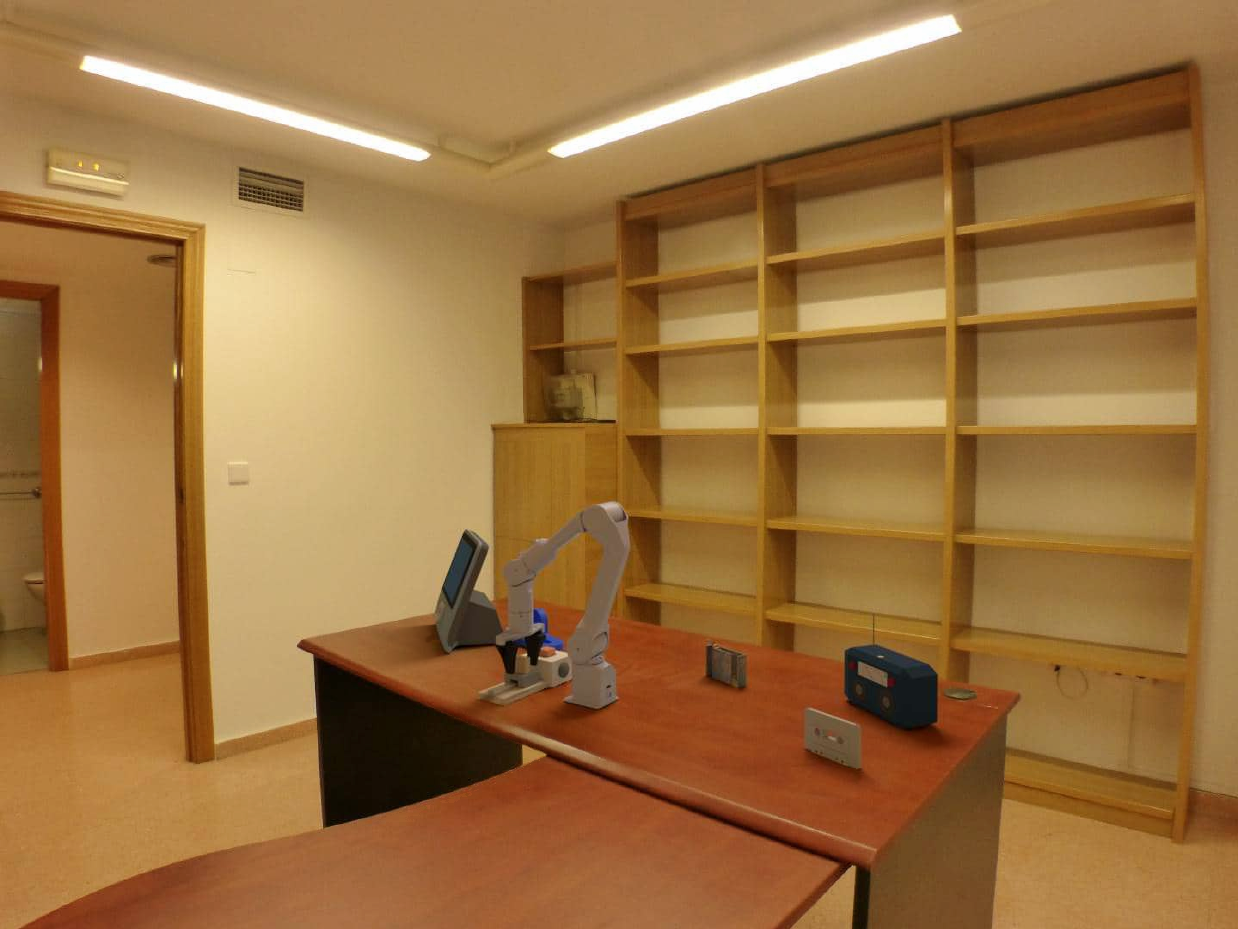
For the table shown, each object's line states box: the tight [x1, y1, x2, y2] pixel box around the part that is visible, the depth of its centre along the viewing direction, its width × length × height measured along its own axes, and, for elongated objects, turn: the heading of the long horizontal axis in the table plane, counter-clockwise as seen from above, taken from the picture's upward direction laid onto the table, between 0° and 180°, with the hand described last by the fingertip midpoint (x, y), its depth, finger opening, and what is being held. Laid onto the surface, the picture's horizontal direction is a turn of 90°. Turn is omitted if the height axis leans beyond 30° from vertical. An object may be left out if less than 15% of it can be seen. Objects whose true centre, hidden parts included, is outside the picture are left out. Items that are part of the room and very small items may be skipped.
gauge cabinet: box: [520, 651, 572, 688], centre depth 186 cm, size 10×8×6 cm
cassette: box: [803, 706, 862, 770], centre depth 140 cm, size 12×2×8 cm, turn 37°
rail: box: [488, 680, 518, 696], centre depth 177 cm, size 2×15×1 cm, turn 145°
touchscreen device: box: [432, 529, 504, 654], centre depth 227 cm, size 35×20×30 cm, turn 18°
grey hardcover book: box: [704, 637, 747, 688], centre depth 185 cm, size 11×3×10 cm, turn 35°
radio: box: [843, 612, 939, 730], centre depth 162 cm, size 21×9×20 cm, turn 21°
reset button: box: [539, 646, 556, 658], centre depth 186 cm, size 3×3×2 cm
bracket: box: [512, 607, 564, 651], centre depth 217 cm, size 18×8×9 cm, turn 36°
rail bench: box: [477, 679, 550, 706], centre depth 177 cm, size 8×15×2 cm, turn 145°
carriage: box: [503, 654, 539, 688], centre depth 179 cm, size 6×5×6 cm
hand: (521, 669), depth 179 cm, fingers open, 7 cm apart
